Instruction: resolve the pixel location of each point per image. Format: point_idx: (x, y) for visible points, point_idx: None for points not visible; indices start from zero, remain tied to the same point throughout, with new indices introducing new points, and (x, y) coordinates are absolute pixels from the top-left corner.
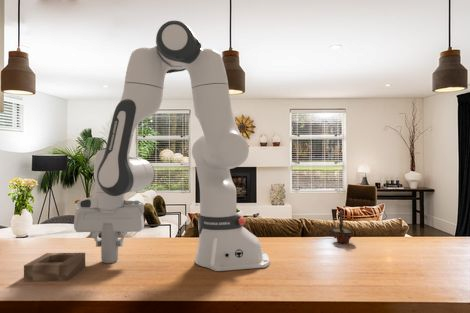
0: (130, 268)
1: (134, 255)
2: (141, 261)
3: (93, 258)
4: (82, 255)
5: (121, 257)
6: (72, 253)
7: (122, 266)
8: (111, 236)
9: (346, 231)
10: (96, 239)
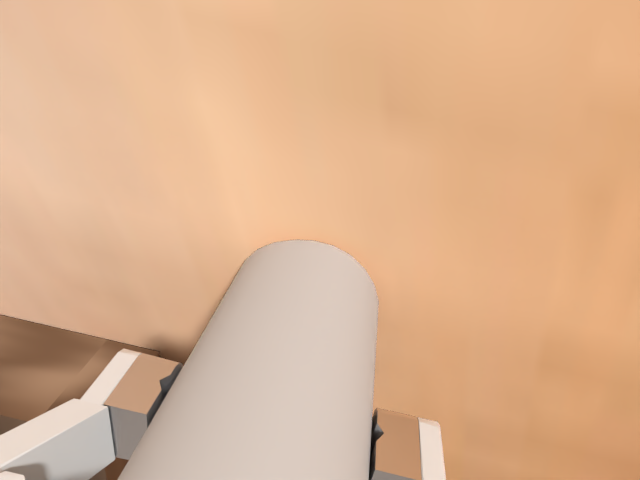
0: (478, 461)
1: (553, 160)
2: (588, 361)
3: (130, 166)
4: (109, 467)
5: (403, 200)
6: (6, 429)
7: (422, 416)
8: None
9: None
10: (84, 476)
